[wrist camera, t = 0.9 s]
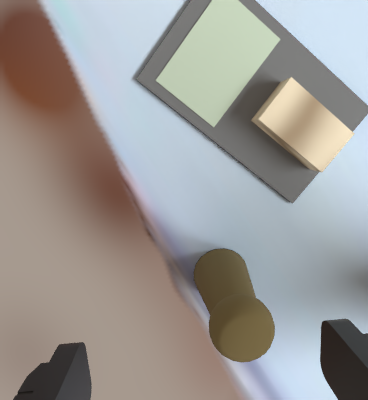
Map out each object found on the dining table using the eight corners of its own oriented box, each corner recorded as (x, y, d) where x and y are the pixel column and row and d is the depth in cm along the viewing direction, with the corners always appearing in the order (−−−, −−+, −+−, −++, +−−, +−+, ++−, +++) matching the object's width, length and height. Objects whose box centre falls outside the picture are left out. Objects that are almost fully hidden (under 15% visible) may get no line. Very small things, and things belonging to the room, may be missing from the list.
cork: (232, 305, 34) (263, 385, 23) (184, 287, 33) (193, 361, 22) (256, 260, 33) (300, 322, 22) (207, 240, 32) (228, 294, 21)
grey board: (368, 109, 30) (372, 109, 29) (291, 202, 31) (293, 203, 31) (215, -34, 26) (216, -37, 26) (136, 79, 28) (136, 79, 27)
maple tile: (339, 133, 30) (354, 133, 27) (309, 169, 30) (321, 172, 28) (280, 81, 28) (291, 77, 26) (250, 120, 29) (258, 119, 27)
